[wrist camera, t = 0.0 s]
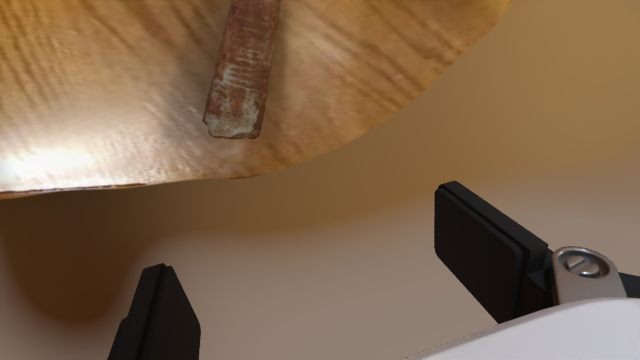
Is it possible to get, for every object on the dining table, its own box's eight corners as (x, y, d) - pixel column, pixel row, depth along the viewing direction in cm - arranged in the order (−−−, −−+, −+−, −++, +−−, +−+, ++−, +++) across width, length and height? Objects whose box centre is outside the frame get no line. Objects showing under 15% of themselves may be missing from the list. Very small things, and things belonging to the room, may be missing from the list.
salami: (202, 121, 39) (198, 136, 34) (241, -63, 32) (243, -78, 28) (255, 135, 41) (259, 150, 36) (301, -36, 35) (313, -45, 30)
